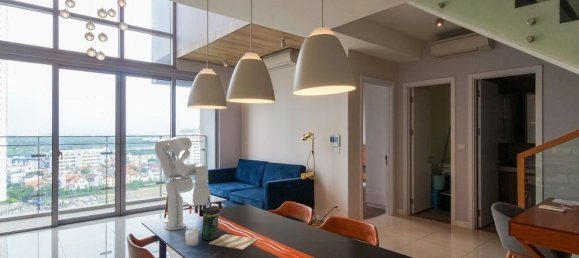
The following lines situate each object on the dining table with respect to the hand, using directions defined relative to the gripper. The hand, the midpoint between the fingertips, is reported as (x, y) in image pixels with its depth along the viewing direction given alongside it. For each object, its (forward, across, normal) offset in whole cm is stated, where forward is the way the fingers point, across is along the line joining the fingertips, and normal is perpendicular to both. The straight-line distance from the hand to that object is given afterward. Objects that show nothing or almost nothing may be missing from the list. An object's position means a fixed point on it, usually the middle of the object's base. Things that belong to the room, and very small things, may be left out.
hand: (202, 215), depth 184 cm
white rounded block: (+13, +2, -11) cm, 17 cm away
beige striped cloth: (+13, +22, 0) cm, 25 cm away
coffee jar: (+13, +5, 0) cm, 14 cm away
